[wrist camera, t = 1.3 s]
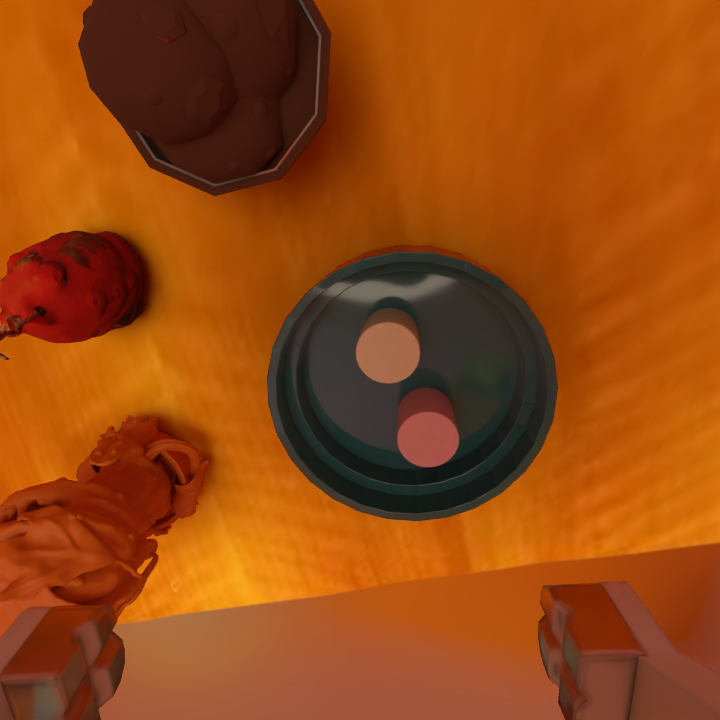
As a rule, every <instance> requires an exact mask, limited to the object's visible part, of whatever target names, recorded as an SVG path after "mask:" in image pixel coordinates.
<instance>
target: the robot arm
mask: <svg viewBox="0 0 720 720" xmlns="http://www.w3.org/2000/svg"><path fill="white" fill-rule="evenodd" d="M540 604H541V606H542V609H543V611H544V613H545V615H544V616H543V617H542V619H541V620H540V621H539V624H538V626H539V627H538V639H539V646H540V653H541V657H542V661H543V664H544V667H545V670H546V672H547V675H548V678H549V679H550V680H551V681H552V682H553V683H555V684H556V685H557V686H558V687H559V700H558V703H559V706H560V708H561V711H562V713H563V715H564V718H565V720H720V674H719V673H717V672H716V671H715V670H713V669H712V668H710V667H708V666H706V665H705V664H704V663H702V662H700V661H699V660H697V659H696V658H694V657H693V656H691V655H680V653H679V652H678V650H677V649H676V648H675V646H674V645H673V643H672V642H671V641H670V639H669V638H668V636H667V635H666V634H665V632H664V631H663V630H662V628H661V627H660V625H659V624H658V623H657V621H656V620H655V618H654V617H653V616H652V614H651V613H650V611H649V610H648V609H647V607H646V606H645V604H644V603H643V602H642V600H641V599H640V597H639V596H638V595H637V593H636V592H635V591H634V589H633V588H632V586H631V585H630V584H629V583H627V582H626V581H611V582H597V583H580V584H562V585H543V587H542V590H541V596H540ZM116 623H117V618H116V615H115V611H114V608H113V607H111V606H108V605H73V606H56V607H30V608H28V609H26V610H24V611H22V612H21V613H20V615H19V616H18V617H17V618H16V619H15V621H14V622H13V623H12V624H11V625H10V627H9V628H8V629H7V630H6V631H5V633H4V634H3V635H2V636H1V637H0V720H101V719H100V714H99V708H100V707H101V706H103V705H104V704H105V703H106V702H107V701H108V700H110V699H111V698H112V697H113V696H114V694H115V692H116V690H117V687H118V685H119V683H120V681H121V677H122V673H123V669H124V664H125V649H124V645H123V641H122V639H121V638H120V637H119V636H118V635H116V634H115V633H114V632H113V631H112V630H113V628H114V626H115V624H116Z"/></svg>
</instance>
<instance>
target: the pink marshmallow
mask: <svg viewBox="0 0 720 720" xmlns="http://www.w3.org/2000/svg"><path fill="white" fill-rule="evenodd" d="M397 444H398V447H399V450H400V452H401V453H402V455H403V456H404V457H405V458H406V459H407V460H408V461H410V462H411V463H413V464H415V465H418V466H422V467H435V466H439V465H441V464H444V463H445V462H447V461H448V460H450V459H451V458H452V457H453V455H454V454H455V452H456V451H457V448H458V445H459V434H458V430H457V425H456V420H455V416H454V411H453V406H452V404H451V402H450V400H449V398H448V397H447V396H446V395H445V394H444V393H442V392H441V391H439V390H436V389H433V388H418V389H415V390H413V391H411V392H409V393H408V394H407V395H406V396H405V397H404V398H403V399H402V401H401V403H400V406H399V410H398V431H397Z"/></svg>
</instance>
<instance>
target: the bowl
mask: <svg viewBox="0 0 720 720" xmlns="http://www.w3.org/2000/svg"><path fill="white" fill-rule="evenodd" d="M384 308H397V309H400V310H402V311H404V312H406V313H408V314H409V315H410V316H411V317H412V318H413V319H414V321H415V323H416V325H417V327H418V331H419V344H420V359H419V363H418V365H417V367H416V369H415V370H414V372H413V373H412V374H411V375H410V376H409V377H407V378H406V379H404V380H402V381H400V382H396V383H380V382H377V381H375V380H372V379H371V378H369V377H368V376H367V375H366V374H365V373H364V372H363V371H362V370H361V368H360V367H359V365H358V362H357V359H356V346H357V342H358V339H359V337H360V334H361V331H362V328H363V326H364V323H365V322H366V320H367V319H368V317H369V316H370V315H371V314H373V313H374V312H376V311H378V310H380V309H384ZM267 383H268V404H269V408H270V412H271V415H272V419H273V422H274V426H275V429H276V433H277V435H278V437H279V439H280V441H281V442H282V444H283V446H284V448H285V450H286V452H287V453H288V455H289V457H290V459H291V460H292V461H293V462H294V464H295V465H296V466H297V467H298V468H299V469H300V470H301V472H302V473H303V474H304V475H305V476H306V477H307V478H308V480H309V481H310V482H311V483H313V484H314V485H315V486H317V487H318V488H319V489H321V490H322V491H323V492H325V493H326V494H327V495H329V496H330V497H331V498H333V499H334V500H336V501H339V502H341V503H343V504H345V505H347V506H349V507H351V508H353V509H355V510H357V511H360V512H363V513H367V514H371V515H374V516H378V517H382V518H386V519H395V520H410V521H422V520H430V519H438V518H446V517H450V516H453V515H456V514H459V513H462V512H465V511H468V510H471V509H474V508H476V507H478V506H480V505H482V504H483V503H485V502H487V501H488V500H490V499H492V498H494V497H495V496H497V495H499V494H501V493H502V492H503V491H504V490H506V489H507V488H508V487H509V486H510V485H511V484H512V483H513V482H514V481H516V480H517V479H518V478H519V477H520V476H521V475H522V474H523V473H524V472H525V471H526V470H527V468H528V467H529V466H530V464H531V463H532V461H533V460H534V458H535V457H536V456H537V454H538V453H539V451H540V450H541V449H542V448H541V447H542V446H543V444H544V441H545V439H546V436H547V434H548V432H549V429H550V427H551V424H552V422H553V418H554V412H555V405H556V397H557V389H558V386H557V377H556V368H555V358H554V355H553V353H552V350H551V347H550V345H549V342H548V339H547V337H546V334H545V331H544V329H543V327H542V325H541V324H540V322H539V321H538V319H537V318H536V316H535V315H534V314H533V312H532V311H531V309H530V308H529V306H528V305H527V303H526V302H525V301H524V300H523V298H521V297H520V296H519V295H518V294H517V293H516V292H515V291H513V290H512V289H511V288H510V287H509V286H508V285H507V284H505V283H504V282H503V281H502V280H501V279H500V278H499V277H497V276H496V275H495V274H494V273H493V272H491V271H490V270H489V269H488V268H487V267H485V266H483V265H481V264H479V263H477V262H475V261H473V260H471V259H469V258H468V257H466V256H464V255H462V254H459V253H456V252H452V251H448V250H444V249H440V248H436V247H432V246H412V245H399V246H392V247H388V248H383V249H378V250H373V251H369V252H366V253H364V254H362V255H360V256H358V257H356V258H353V259H351V260H349V261H347V262H345V263H343V264H341V265H339V266H338V267H337V268H336V269H334V270H333V271H332V272H331V273H329V274H328V275H327V276H325V277H324V278H323V279H322V280H320V281H319V282H318V283H317V284H316V285H315V286H314V287H312V288H311V289H310V290H309V291H308V292H307V293H306V294H305V295H304V296H303V298H302V299H301V300H300V301H299V303H298V304H297V305H296V306H295V308H294V309H293V310H292V311H291V313H290V314H289V315H288V317H287V318H286V320H285V322H284V324H283V326H282V328H281V330H280V333H279V335H278V337H277V339H276V341H275V343H274V346H273V349H272V354H271V360H270V365H269V370H268V377H267ZM418 388H433V389H436V390H439V391H441V392H442V393H444V394H445V395H446V396H447V397H448V398H449V400H450V402H451V404H452V406H453V411H454V416H455V420H456V425H457V430H458V434H459V445H458V448H457V451H456V452H455V454H454V455H453V457H452V458H451V459H450V460H448V461H447V462H445V463H444V464H441V465H439V466H435V467H422V466H418V465H415V464H413V463H411V462H410V461H408V460H407V459H406V458H405V457H404V456H403V455H402V453H401V452H400V450H399V447H398V444H397V431H398V410H399V406H400V403H401V401H402V399H403V398H404V397H405V396H406V395H407V394H408V393H409V392H411V391H413V390H415V389H418Z"/></svg>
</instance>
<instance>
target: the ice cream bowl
mask: <svg viewBox="0 0 720 720" xmlns="http://www.w3.org/2000/svg"><path fill="white" fill-rule="evenodd" d="M83 24H84V28H83V31H82V34H81V37H80V40H79V43H78V46H79V49H80V53H81V57H82V60H83V64H84V68H85V71H86V75H87V79H88V82H89V86H90V88H91V89H92V91H93V92H94V93H95V94H96V95H97V96H98V98H99V99H100V100H101V101H102V102H103V104H104V105H105V106H106V107H107V108H108V110H109V111H110V112H111V113H112V114H113V116H114V117H115V118H116V119H117V120H118V122H119V123H120V124H121V125H122V127H123V128H124V130H125V131H126V133H127V134H128V136H129V137H130V139H131V140H132V142H133V143H134V145H135V146H136V148H137V149H138V151H139V152H140V154H141V155H142V157H143V158H144V160H145V161H146V163H147V164H148V166H149V167H150V168H152V169H154V170H157V171H159V172H161V173H163V174H166V175H168V176H170V177H173V178H175V179H177V180H179V181H182V182H184V183H186V184H188V185H191V186H193V187H195V188H198V189H200V190H202V191H204V192H207V193H209V194H211V195H214V196H217V195H221V194H225V193H228V192H232V191H236V190H240V189H244V188H248V187H252V186H255V185H259V184H263V183H267V182H271V181H275V180H278V179H281V178H282V177H283V176H284V175H285V174H286V173H287V171H288V170H289V169H290V167H291V166H292V165H293V163H294V162H295V161H296V159H297V158H298V157H299V155H300V154H301V153H302V151H303V150H304V149H305V147H306V146H307V145H308V143H309V142H310V141H311V139H312V138H313V137H314V135H315V134H316V133H317V131H318V130H319V129H320V127H321V126H322V125H323V123H324V122H325V120H326V109H327V92H328V74H329V57H330V39H331V32H330V30H329V29H328V27H327V25H326V23H325V21H324V19H323V17H322V16H321V14H320V12H319V10H318V8H317V6H316V5H315V3H314V1H313V0H93V3H92V5H91V6H89V7H88V8H87V9H86V10H85V11H84V13H83Z"/></svg>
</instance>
